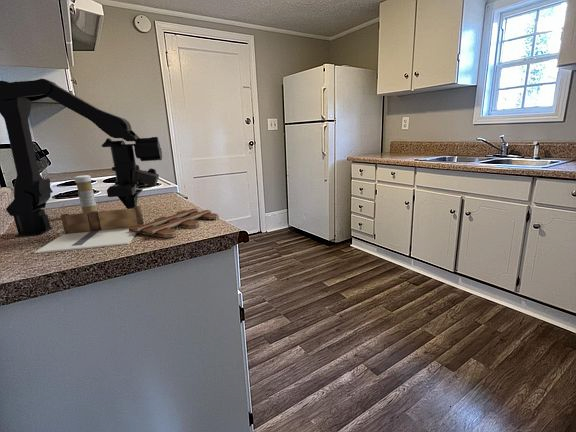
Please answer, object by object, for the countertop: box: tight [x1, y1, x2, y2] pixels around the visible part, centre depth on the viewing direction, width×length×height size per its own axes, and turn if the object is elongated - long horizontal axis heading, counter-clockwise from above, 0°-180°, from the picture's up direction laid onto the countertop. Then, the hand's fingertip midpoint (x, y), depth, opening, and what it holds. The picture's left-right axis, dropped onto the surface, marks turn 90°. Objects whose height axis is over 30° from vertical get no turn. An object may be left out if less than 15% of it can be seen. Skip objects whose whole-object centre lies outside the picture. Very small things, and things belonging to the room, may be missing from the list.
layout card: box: [34, 227, 138, 255], centre depth 81 cm, size 20×17×1 cm
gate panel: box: [98, 205, 145, 230], centre depth 87 cm, size 11×2×6 cm, turn 102°
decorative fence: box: [129, 208, 220, 239], centre depth 89 cm, size 23×2×15 cm
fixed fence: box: [60, 210, 101, 233], centre depth 85 cm, size 9×2×5 cm, turn 102°
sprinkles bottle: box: [74, 174, 98, 213], centre depth 104 cm, size 5×5×14 cm
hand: (133, 214), depth 93 cm, fingers closed
